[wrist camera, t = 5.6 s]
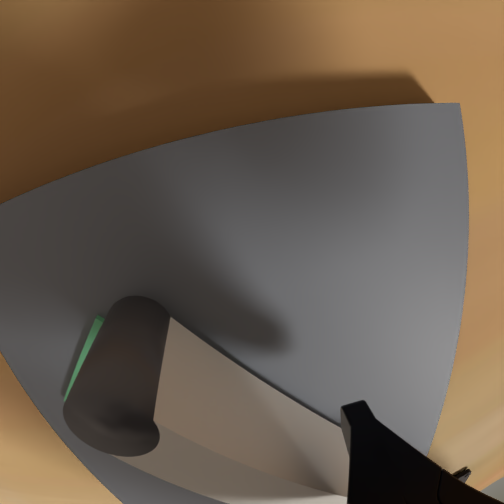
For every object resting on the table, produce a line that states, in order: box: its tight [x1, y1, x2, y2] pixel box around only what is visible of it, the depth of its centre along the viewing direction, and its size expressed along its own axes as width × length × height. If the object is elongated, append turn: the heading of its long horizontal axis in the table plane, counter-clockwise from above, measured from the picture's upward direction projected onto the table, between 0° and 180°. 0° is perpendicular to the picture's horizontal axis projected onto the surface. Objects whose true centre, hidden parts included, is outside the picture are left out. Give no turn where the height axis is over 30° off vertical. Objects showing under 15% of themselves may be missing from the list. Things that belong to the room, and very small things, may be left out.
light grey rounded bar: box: [63, 296, 349, 504], centre depth 8 cm, size 16×3×4 cm, turn 45°
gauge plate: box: [0, 103, 469, 504], centre depth 11 cm, size 18×16×1 cm
